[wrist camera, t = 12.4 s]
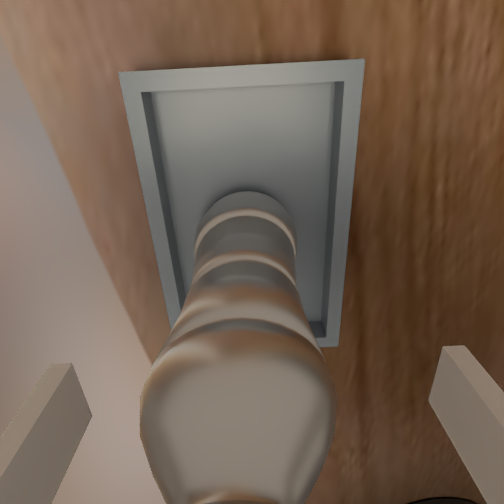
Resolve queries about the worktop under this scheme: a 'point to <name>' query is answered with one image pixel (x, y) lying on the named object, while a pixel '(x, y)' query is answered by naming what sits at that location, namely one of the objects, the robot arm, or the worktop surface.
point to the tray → (250, 164)
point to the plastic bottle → (240, 370)
